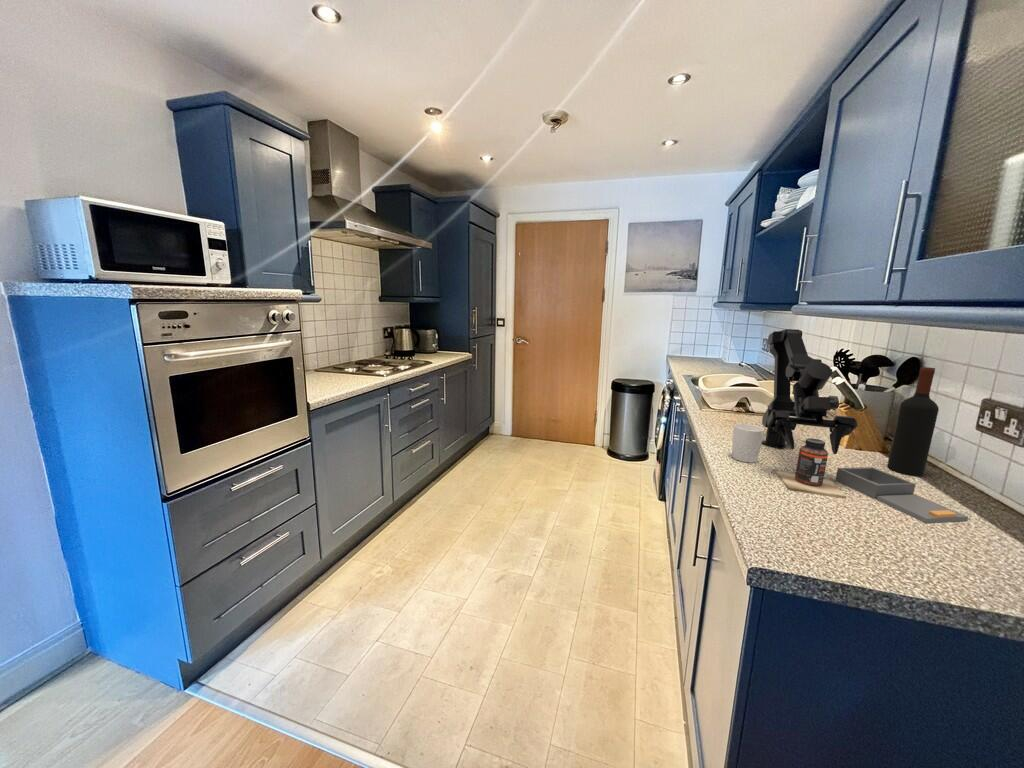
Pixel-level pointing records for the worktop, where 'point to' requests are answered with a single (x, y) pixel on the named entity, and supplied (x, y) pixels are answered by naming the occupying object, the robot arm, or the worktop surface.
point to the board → (824, 489)
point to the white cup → (747, 442)
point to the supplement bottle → (811, 462)
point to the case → (896, 494)
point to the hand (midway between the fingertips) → (813, 451)
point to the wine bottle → (914, 429)
